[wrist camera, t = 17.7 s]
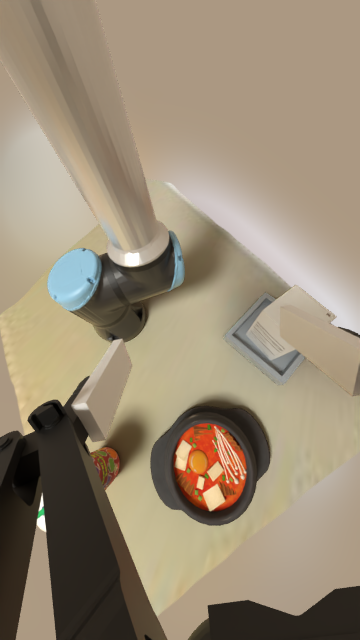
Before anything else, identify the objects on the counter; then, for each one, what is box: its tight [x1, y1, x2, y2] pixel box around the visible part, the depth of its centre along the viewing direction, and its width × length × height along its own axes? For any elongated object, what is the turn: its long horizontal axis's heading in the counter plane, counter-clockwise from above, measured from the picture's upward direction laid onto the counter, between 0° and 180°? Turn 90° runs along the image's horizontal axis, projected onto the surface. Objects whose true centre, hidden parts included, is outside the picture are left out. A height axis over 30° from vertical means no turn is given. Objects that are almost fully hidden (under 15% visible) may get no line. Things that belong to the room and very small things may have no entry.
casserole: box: [151, 406, 270, 526], centre depth 35 cm, size 25×19×8 cm
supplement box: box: [246, 285, 336, 360], centre depth 38 cm, size 9×9×15 cm
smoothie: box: [37, 447, 119, 532], centre depth 31 cm, size 8×8×20 cm
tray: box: [223, 292, 305, 385], centre depth 45 cm, size 16×16×4 cm
